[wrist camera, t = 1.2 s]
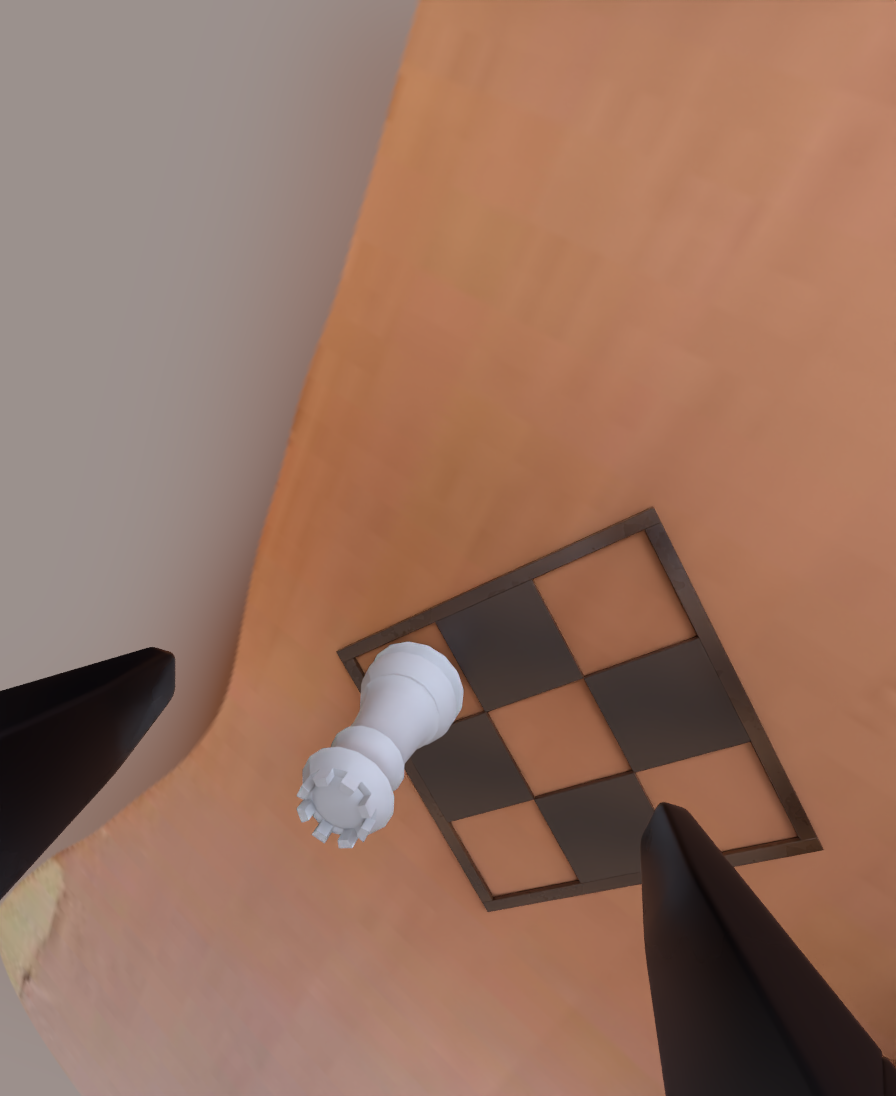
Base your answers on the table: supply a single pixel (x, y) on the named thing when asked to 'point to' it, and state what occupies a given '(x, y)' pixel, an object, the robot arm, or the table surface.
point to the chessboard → (624, 699)
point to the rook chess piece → (380, 742)
